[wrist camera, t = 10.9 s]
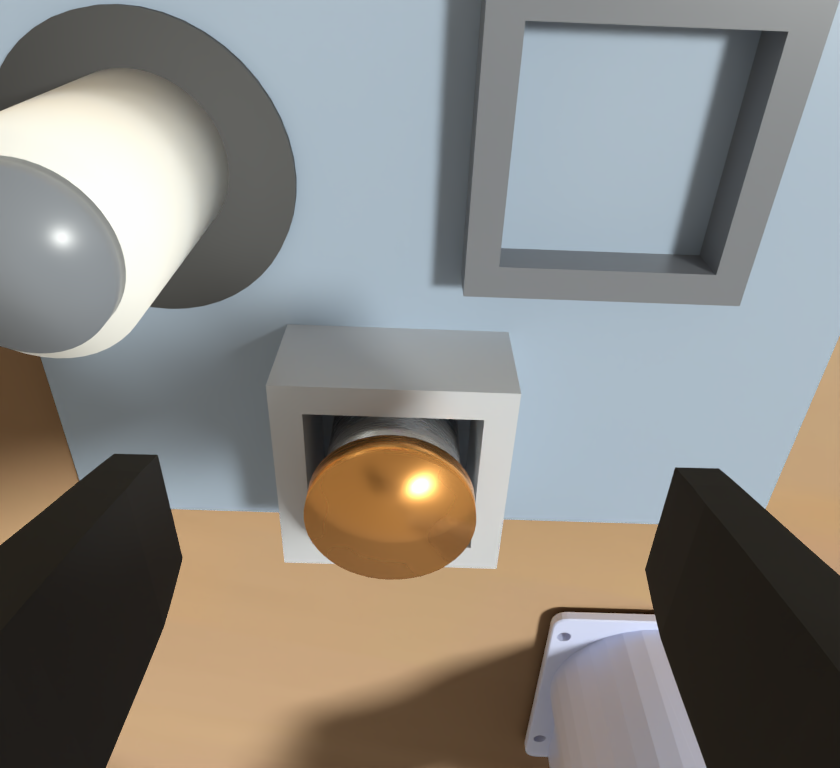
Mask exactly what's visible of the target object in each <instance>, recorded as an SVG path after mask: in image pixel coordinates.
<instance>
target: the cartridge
mask: <svg viewBox="0 0 840 768" xmlns="http://www.w3.org/2000/svg"><path fill="white" fill-rule="evenodd" d="M228 183H229V165H228V160H227V154H226V151H225V147H224V144H223V141H222V139H221V137H220V134H219V132H218V130H217V128H216V127H215V125H214V123H213V122H212V120H211V118H210V117H209V116H208V114H207V113H206V112H205V110H204V109H203V108H202V107H201V106H200V105H199V104H198V103H197V102H196V100H195V99H193V98H192V97H191V96H190V95H189V94H188V93H187V92H185V91H184V90H183V89H181V88H180V87H178V86H177V85H175V84H174V83H172V82H170V81H169V80H167V79H165V78H163V77H161V76H158V75H156V74H153V73H150V72H147V71H143V70H139V69H132V68H110V69H104V70H100V71H97V72H94V73H91V74H89V75H87V76H84V77H82V78H79V79H77V80H74V81H72V82H70V83H67V84H65V85H62V86H60V87H58V88H55V89H53V90H50V91H48V92H45V93H43V94H41V95H38V96H36V97H33V98H31V99H29V100H26V101H24V102H21V103H19V104H16V105H14V106H12V107H9V108H7V109H4V110H2V111H0V346H2V347H5V348H8V349H12V350H15V351H19V352H22V353H25V354H30V355H35V356H40V357H48V358H75V357H82V356H87V355H91V354H95V353H98V352H100V351H103V350H105V349H107V348H110V347H111V346H113V345H115V344H116V343H118V342H119V341H121V340H122V339H123V338H124V337H125V336H126V335H128V334H129V333H130V332H131V330H132V329H133V328H134V327H135V326H136V324H137V323H138V322H139V320H140V319H141V318H142V316H143V315H144V314H145V312H146V311H147V310H148V308H149V307H150V306H151V304H152V303H153V301H154V300H155V299H156V297H157V296H158V295H159V293H160V292H161V291H162V289H163V288H164V287H165V285H166V284H167V283H168V281H169V280H170V278H171V277H172V276H173V274H174V273H175V272H176V270H177V269H178V268H179V266H180V265H181V264H182V262H183V261H184V260H185V258H186V257H187V255H188V254H189V253H190V251H191V250H192V249H193V247H194V246H195V245H196V243H197V242H198V241H199V239H200V238H201V237H202V235H203V234H204V233H205V231H206V230H207V228H208V227H209V226H210V224H211V223H212V222H213V220H214V219H215V218H216V216H217V215H218V213H219V211H220V210H221V208H222V206H223V203H224V201H225V198H226V194H227V190H228Z"/></svg>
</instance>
